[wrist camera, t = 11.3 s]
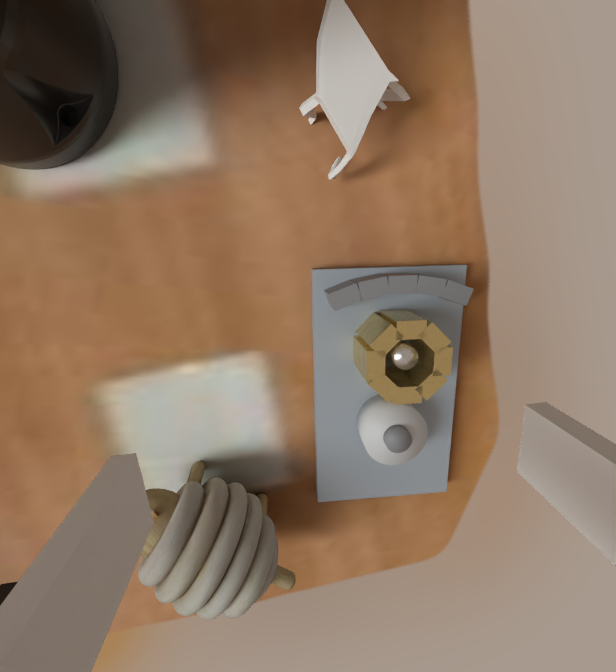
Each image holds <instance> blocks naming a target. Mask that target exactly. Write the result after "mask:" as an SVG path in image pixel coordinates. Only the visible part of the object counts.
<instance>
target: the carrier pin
mask: <svg viewBox="0 0 616 672" xmlns="http://www.w3.org/2000/svg"><path fill="white" fill-rule="evenodd" d="M386 356H387V357H388V358H389V359H390V360H391V361H392V362H393V363H394V364H395V365H396V366H397V367H398V368H400V369H403V370H408V369H411V368H412V367H414V366H415V365H416V363H417V361H418V353H417V351H416V350H415V349H414V348H413V347H412V346H410V345H409V344H407V343H406V342H405V341H403V340H400V341H399V342H398V343H397V344H396V345H395V346H394V347H393V348H392V349H391V350H390V351H389V352H388V353H387V354H386Z"/></svg>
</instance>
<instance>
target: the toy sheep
mask: <svg viewBox="0 0 616 672" xmlns="http://www.w3.org/2000/svg"><path fill="white" fill-rule="evenodd" d="M204 470H205V465H204V464H203V463H202V462H196V463H195V464H194V465H193V466H192V469H191V472H190V475H189V478H188V481H187V483H186V484H184V485H183V486H182V487H181V488H180V490H179V491H178V492H177V493H175V492H172V491H169V490H166V489H149V490H146V493H147V497H148V501H149V505H150V509H151V512H152V516H153V520H154V523H153V526H152V528H151V530H150V533H149V535H148V538H147V540H146V542H145V545H144V547H143V550H142V552H141V555H142V556H143V558H142V560H141V563H140V567H139V572H138V575H139V579H140V581H141V583H142V584H143V585H145V586H155V595H156V597H157V599H158V600H159V601H160V602H162V603H171V602H173V605H174V608H175V610H176V612H177V613H178V614H180V615H183V616H189V615H192V614H194V613H196V612H197V614H198V615H199V616H200V617H201V618H202V619H206V620H211V619H214V618H216V617H218V616H219V615H220V614H221V613H222V614H223V615H224V616H226V617H229V618H237V617H239V616H241V615H242V614H244V613H245V612H246V611H247V610H248V609H249V608H250V607H251V606H252V604H254V603H255V602H256V601H257V600H258V599H259V598H260V597H261V596H262V595H263V594H264V593H265V591H266V590H267V589H268V587H269V585H270V583H273V584H275V585H277V586H279V587H281V588H283V589H285V590H290V589H291V588H292V587H293V586H294V584H295V574H294V573H293V572H292V571H289V570H287V569H285V568H283V567H281V566H279V565H277V562H278V543H277V538H276V533H275V526H274V523H273V521H272V520H271V518H270V517H269V516H267V505H268V497H267V496H266V495H265V494H259V495H258V496H256V495H254V494H251V493H246V490H245V488H244V486H243V485H241V484H240V483H237V482H233V483H229V484H226V482H225V481H224V480H222V479H221V478H218V477H214V478H212V479H210V480H208V481H207V482H206V483H204V485H203V486H201V480H202V477H203V473H204Z"/></svg>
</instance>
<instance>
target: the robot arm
mask: <svg viewBox="0 0 616 672" xmlns="http://www.w3.org/2000/svg"><path fill="white" fill-rule="evenodd" d="M117 88H118V67H117V59H116V53H115V48H114V44H113V40H112V37H111V34H110V31H109V28H108V26H107V23H106V21H105V19H104V16H103V14H102V12H101V11H100V9H99V7H98V5H97V3H96V2H95V0H0V164H2V165H6V166H10V167H15V168H22V169H44V168H51V167H55V166H59V165H62V164H65V163H67V162H70V161H71V160H73V159H75V158H77V157H79V156H80V155H82V154H83V153H84V152H86V151H87V150H88V149H89V148H90V147H91V146H92V145H93V144H94V143H95V142H96V141H97V140H98V139H99V137H100V136H101V135H102V133H103V131H104V130H105V128H106V126H107V124H108V122H109V120H110V118H111V115H112V112H113V109H114V106H115V102H116V96H117ZM517 472H518V473H519V474H520V475H521V476H522V477H523V478H525V479H526V480H527V481H528V482H529V483H530V484H531V485H532V486H533V487H534V488H535V489H536V490H537V491H538V492H539V493H540V494H541V495H542V496H543V497H544V498H545V499H546V500H547V501H549V502H550V503H551V504H552V505H553V506H554V507H555V508H556V509H557V510H558V511H559V512H560V513H561V514H562V515H563V516H564V517H565V518H566V519H567V520H569V522H571V524H573V525H574V526H575V527H576V528H577V529H578V530H579V531H580V532H581V533H582V534H583V535H584V536H585V537H586V538H587V539H588V540H589V541H590V542H591V543H592V544H593V545H595V546H596V547H597V548H598V549H599V550H600V551H601V552H602V553H603V554H604V555H605V556H606V557H607V558H608V559H609V560H610V561H611V562H612V563H613V564H614V565H615V566H616V444H614V443H613V442H611V441H609V440H608V439H606V438H604V437H603V436H601V435H599V434H598V433H596V432H595V431H593V430H591V429H590V428H588V427H586V426H585V425H583V424H581V423H579V422H578V421H576V420H575V419H573V418H571V417H570V416H568V415H566V414H565V413H563V412H561V411H560V410H558V409H556V408H555V407H553V406H551V405H550V404H548V403H546V402H543V403H535V404H527V405H525V410H524V419H523V426H522V434H521V443H520V451H519V459H518V469H517ZM153 523H154V520H153V516H152V512H151V509H150V505H149V501H148V497H147V493H146V490H145V486H144V482H143V478H142V474H141V471H140V467H139V463H138V459H137V455H136V453H133V454H125V455H117V456H111V457H110V458H109V460H108V461H107V462H106V464H105V465H104V466H103V468H102V469H101V470H100V472H99V473H98V475H97V476H96V477H95V479H94V480H93V481H92V483H91V484H90V485H89V487H88V488H87V489H86V491H85V492H84V493H83V495H82V496H81V497H80V499H79V500H78V502H77V503H76V504H75V506H74V507H73V508H72V510H71V511H70V512H69V514H68V515H67V516H66V518H65V519H64V520H63V522H62V523H61V524H60V526H59V527H58V529H57V530H56V531H55V533H54V534H53V535H52V537H51V538H50V539H49V541H48V542H47V543H46V545H45V546H44V547H43V549H42V550H41V551H40V553H39V554H38V556H37V557H36V558H35V560H34V561H33V562H32V564H31V565H30V566H29V568H28V569H27V570H26V572H25V573H24V574H23V576H22V577H21V578H20V580H19V581H18V582H13V583H6V584H2V585H0V672H91V671H92V669H93V667H94V664H95V662H96V659H97V657H98V655H99V652H100V650H101V647H102V645H103V643H104V640H105V638H106V636H107V633H108V631H109V628H110V626H111V624H112V621H113V619H114V616H115V614H116V612H117V609H118V607H119V604H120V602H121V600H122V597H123V595H124V593H125V590H126V588H127V585H128V583H129V581H130V578H131V576H132V573H133V571H134V569H135V566H136V564H137V561H138V559H139V557H140V554H141V552H142V550H143V547H144V545H145V542H146V540H147V538H148V535H149V533H150V530H151V528H152V526H153Z"/></svg>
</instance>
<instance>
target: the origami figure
mask: <svg viewBox="0 0 616 672" xmlns="http://www.w3.org/2000/svg"><path fill="white" fill-rule="evenodd" d="M397 81H399V80H398V79H397V78H396V77H395V76H394V75H393V74H392V73H391V72H390V71H389V70H388V69H387V67H386V66H385V64H384V62H383V61H382V59H381V58H380V56H379V55H378V53H377V51H376V50H375V48H374V47H373V45H372V44H371V42H370V40H369V39H368V37H367V36H366V34H365V33H364V31H363V29H362V28H361V26H360V25H359V23H358V22H357V20H356V18H355V17H354V15H353V14H352V12H351V10H350V9H349V7H348V6H347V4H346V3H345V1H344V0H327V2H326V6H325V10H324V14H323V18H322V22H321V26H320V30H319V34H318V38H317V55H316V93H315V94H314V95H312V96H311V97H310V98H308V99H307V100H306V101H305V102H303V103H302V105H301V106H300V110H301V112H302V114H303V116H306V117H310V118H309V122H310V124H312V123H313V122H314V121H315V119H316V116H317V115H316V113H315V111H314V110H313V108H314V107H316V106H317V105H318V104H320V105H321V107H322V109H323V111H324V112H325V114H326V116H327V118H328V119H329V121H330V123H331V125H332V126H333V128H334V130H335V131H336V133H337V135H338V137H339V138H340V140H341V142H342V144H343V145H344V147H345V149H346V151H347V152H346V155H345V156H344V158H343V159H342V161H341V158H340V156H339V157H338V158H337V159H336V161H335V162H334V164H333V165H332V167H331V168H332V169H331V170H330V172H329V174H328V177H329V179H330V180H332V179H335V178H336V177H337V176H338V175H339V174H340V172H341V171H342V170H343V169H344V168H345V166H346V165H347V163H348V161H349V160H350V159H351V158H352V157H353V155H354V153H355V152H356V149H357V147H358V145H359V143H360V141H361V138H362V136H363V134H364V132H365V129H366V127H367V124H368V122H369V120H370V117H371V115H372V113H373V112H374V110H375V108H376V106H378V107H380V108H381V109H382V110H385V109H386V108H387V107H386V105H385V104H384V102H383V101H406V100H409V99H411V98H410V97H409V95H408V94H407V92H406V91H405V89H404V88H403V87H402V86H401V85H399V84H398V83H397ZM387 86H389V87H390V88H391V89H386V88H387Z"/></svg>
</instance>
